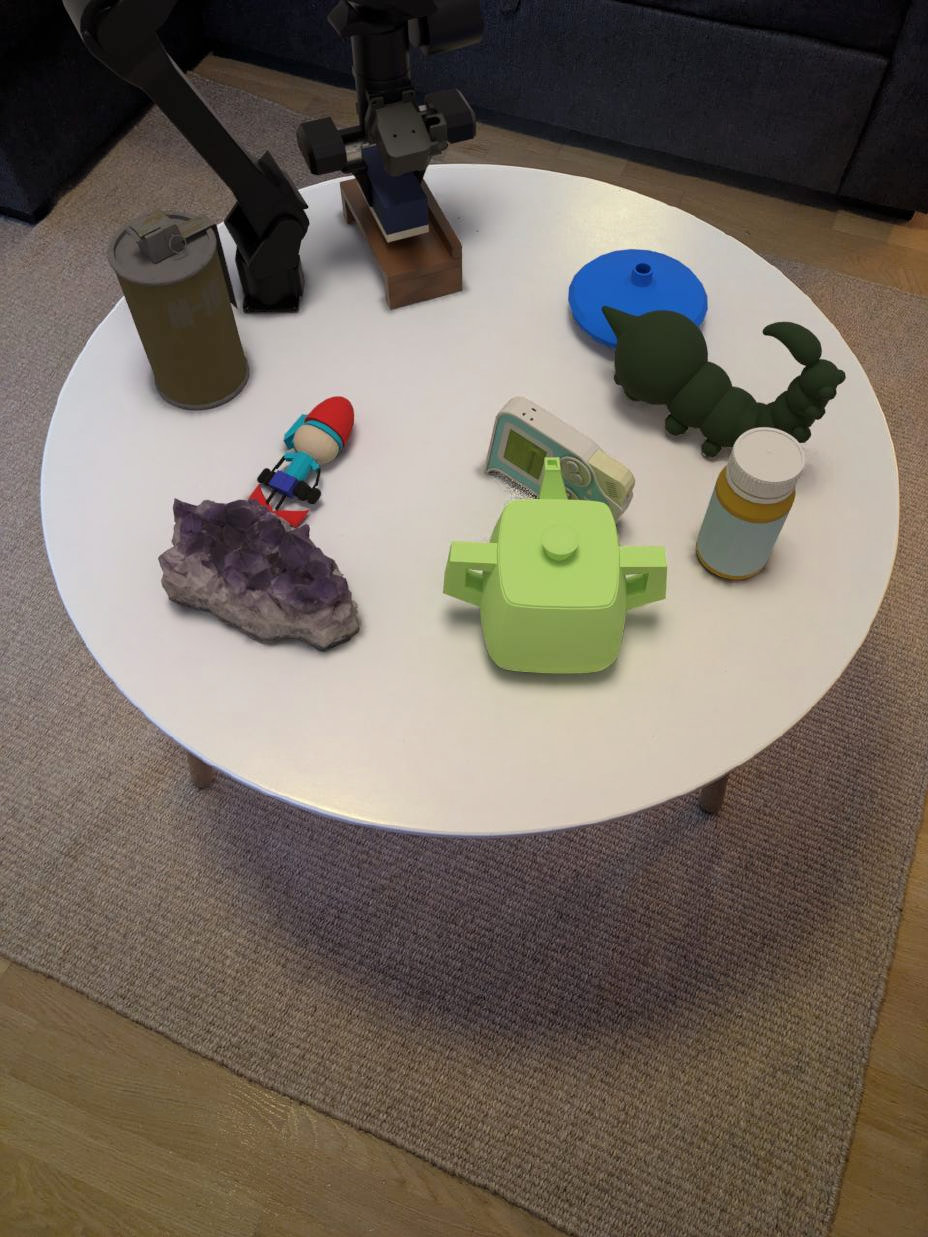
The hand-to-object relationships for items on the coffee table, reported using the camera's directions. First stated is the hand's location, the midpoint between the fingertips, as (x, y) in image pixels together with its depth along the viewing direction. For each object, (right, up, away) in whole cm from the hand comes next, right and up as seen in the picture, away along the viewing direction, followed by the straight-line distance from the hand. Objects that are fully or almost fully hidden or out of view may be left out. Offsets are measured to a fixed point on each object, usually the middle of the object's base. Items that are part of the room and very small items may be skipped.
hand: (391, 199), depth 115 cm
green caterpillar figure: (+33, -27, -7) cm, 43 cm away
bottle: (+35, -42, -16) cm, 57 cm away
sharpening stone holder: (+1, -4, +7) cm, 8 cm away
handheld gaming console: (+17, -36, -13) cm, 42 cm away
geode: (-11, -46, -18) cm, 50 cm away
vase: (+28, -14, +1) cm, 31 cm away
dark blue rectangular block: (0, -1, +1) cm, 1 cm away
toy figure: (-8, -32, -10) cm, 35 cm away
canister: (-21, -21, -3) cm, 30 cm away
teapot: (+16, -46, -19) cm, 53 cm away
